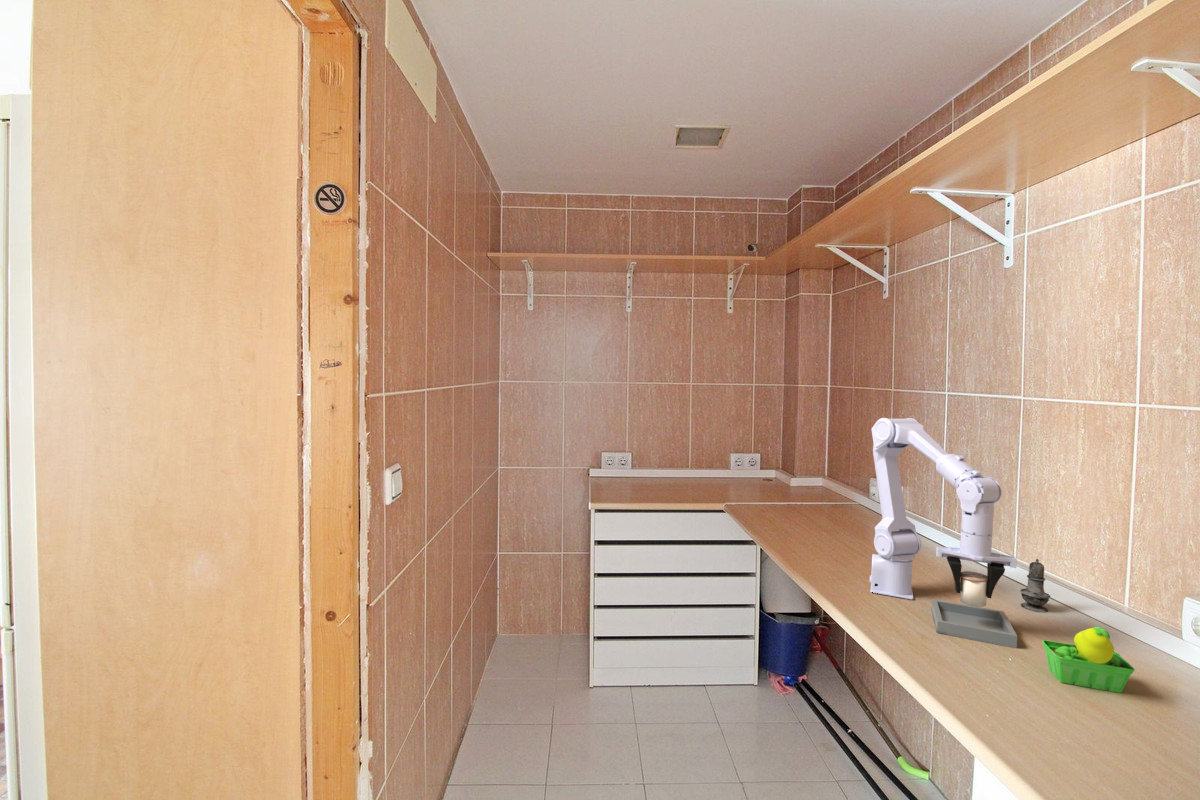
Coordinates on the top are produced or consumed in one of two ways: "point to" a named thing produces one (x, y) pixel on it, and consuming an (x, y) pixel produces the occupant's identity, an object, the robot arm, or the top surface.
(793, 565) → the top surface
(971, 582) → the cup
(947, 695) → the top surface
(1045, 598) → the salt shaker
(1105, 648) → the fruit basket
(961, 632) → the tray
